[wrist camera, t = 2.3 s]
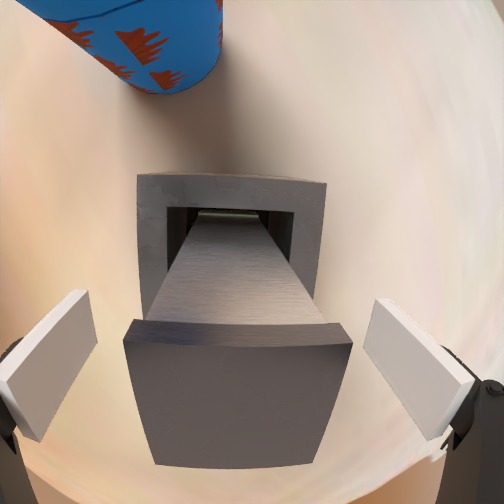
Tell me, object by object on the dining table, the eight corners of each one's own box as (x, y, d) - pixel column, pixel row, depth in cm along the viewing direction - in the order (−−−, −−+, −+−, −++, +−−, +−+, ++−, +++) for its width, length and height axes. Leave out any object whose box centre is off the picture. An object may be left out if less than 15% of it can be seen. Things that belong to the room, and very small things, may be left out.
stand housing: (167, 289, 30) (143, 349, 19) (167, 172, 26) (132, 175, 16) (281, 292, 31) (308, 352, 20) (292, 177, 28) (332, 184, 17)
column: (198, 267, 29) (158, 471, 8) (199, 207, 27) (122, 339, 6) (252, 269, 29) (308, 470, 8) (256, 209, 28) (353, 342, 6)
